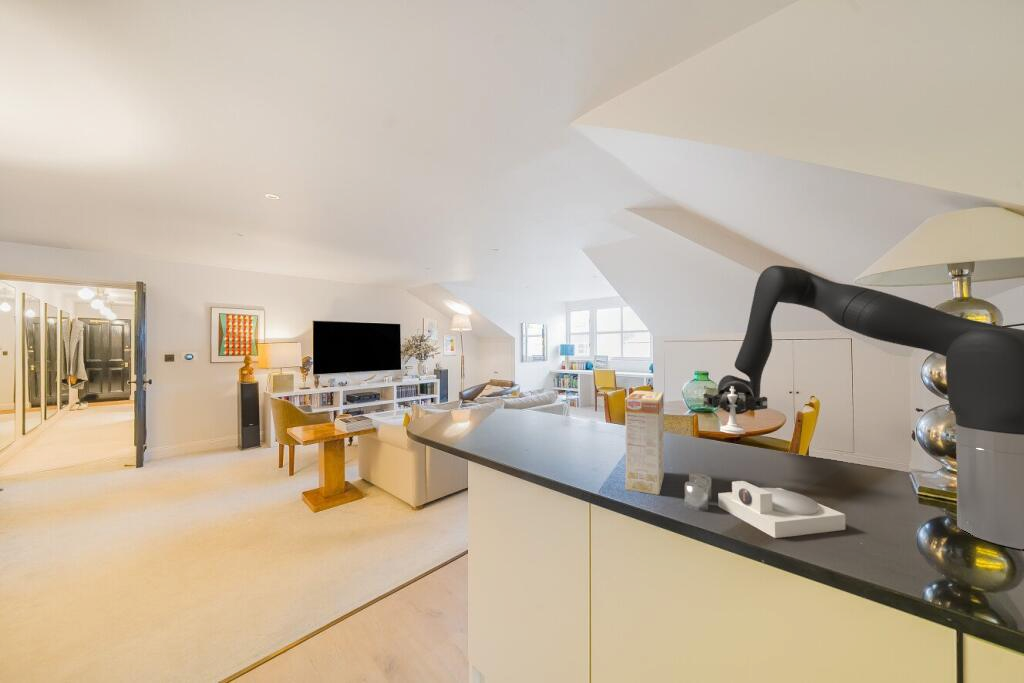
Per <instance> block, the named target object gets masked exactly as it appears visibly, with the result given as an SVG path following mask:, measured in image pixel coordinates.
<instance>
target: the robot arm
mask: <svg viewBox="0 0 1024 683" xmlns="http://www.w3.org/2000/svg"><path fill="white" fill-rule="evenodd" d="M753 294H754V295H753V298H752V303H751V307H750V314H749V318H748V322H747V328H746V330H745V331H746V332H745V335H744V338H743V341H742V343H741V346H740V348H739V351H738V354H737V356H736V360H735V361H734V367H735V369H736V370H737V371H739V372H741V373H742V374H744V375H745V376H747V377H748V378H749V380H746V379H744V378H742V377H741V378H740V377H738V376H735V375H730V374H727V375H724V376H723V377H722V378H721V379H720V380H719V382H718V386H717V393H716V394H710V393H708V392H707V393H706V392H705V393H703V405H706V406H709V407H711V408H713V409H717V408H719V409H722V411H724V412H727V413H729V414H730V407H728V405H729V404H730V402H729V399H728V396H727V395H728V394H731V391H730V389H731V386H734V389H735V392H734V394H736V395H738V397H737V400H736V403H735V405H737V407H735V412H736V415H742V414H745V413H747V412H749V411H760V410H767V409H768V397H767V396H761V383H762V375H763V372H764V369H765V367H766V365H767V362H768V360H769V357H770V354H771V352H772V348H773V334H772V317H773V314H774V311H775V309H776V307H777V305H778V303H782V304H783V303H785V304H792V305H798V306H802V307H807V308H809V309H812V310H816V311H819V312H821V313H822V314H824V315H825V316H826V317H827V318H828V319H829V320H831V321H832V322H834V323H835V324H837V325H839V326H840V327H843V328H844V329H847V330H849V331H852V332H855V333H857V334H859V335H862V336H865V337H867V338H871V339H873V340H878V341H882V342H887V343H890V344H894V345H900V346H905V347H908V348H909V347H910V348H915V349H920V350H923V351H929V352H932V353H934V354H938V355H940V356H944V357H945V374H946V375H945V376H946V387H947V388H946V389H947V399H948V404H949V407H950V408H951V410H952V412H953V414H954V415H955V416H954V417H955V443H956V444H955V445H956V446H955V447H956V450H955V451H956V454H955V455H956V526H957V528H958V527H959V528H960V530H961V529H962V530H964V531H966V532H968V533H970V534H971V535H970V534H969V535H970V536H972V535H973V536H972V537H976V538H977V539H978V538H979V539H981V540H983V541H987V542H989V543H993V544H996V545H1000V546H1003V547H1004V546H1005V547H1007V548H1008V547H1009V548H1014V549H1019V550H1023V549H1024V329H1021V328H1013V327H1009V326H1008V327H1007V326H1004V325H998V324H992V323H988V322H983V321H979V320H973V319H969V318H965V317H961V316H959V315H958V316H957V315H954V314H951V313H948V312H946V311H942V310H940V309H936V308H933V307H931V306H929V305H926V304H923V303H922V304H921V303H918V302H916V301H913V300H909V299H907V298H904V297H900V296H897V295H894V294H890V293H887V292H885V291H884V292H883V291H880V290H876V289H873V288H868V287H863V286H859V285H853V284H846V283H841V282H835V281H832V280H829V279H826V278H824V277H822V276H819V275H817V274H814V273H812V272H810V271H808V270H806V269H802V268H800V267H794V266H785V265H776V264H775V265H770V266H768V267H766V268H765V269H764V270H763V271H762V272H761V273H760V275H759V277H758V279H757V281H756V285H755V289H754V293H753ZM959 528H958V529H959ZM962 530H961V531H962ZM964 531H963V532H964ZM966 532H965V533H966ZM968 533H967V534H968Z"/></svg>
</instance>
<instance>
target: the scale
mask: <svg viewBox="0 0 1024 683" xmlns="http://www.w3.org/2000/svg"><path fill="white" fill-rule="evenodd" d="M731 490H732V491H730V492H718V494H717V495H718V496H717V497H718V506H717V507H718V508H720V509H722V510H724V511H726V512H728V513H729V514H731V515H732V516H735V517H736V518H738V519H740V520H742V522H745V523H747V524H749V525H751V526H752V527H755V528H756V529H758V530H760V531H761V532H763V533H765V534H767V535H769V536H771V537H772V538H773V539H777V538H779V539H781V538H786V537H787V538H788V537H796V536H804V535H811V534H812V535H813V534H821V533H828V532H837V531H844V530H846V514H845V513H843V512H841V511H838V510H836V509H832V508H830V507H828V506H825V505H823V504H822V503H821V504H820V503H818V502H817V501H815V500H814V499H812V498H810V497H808V496H807V495H806V496H805V495H803V494H801V493H798V492H794V491H790V490H786V489H784V488H781V487H776V488H775V487H774V488H773V487H758V486H756V485H754V484H751V483H749V482H747V481H745V480H737V481H731Z"/></svg>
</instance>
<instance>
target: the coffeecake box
mask: <svg viewBox="0 0 1024 683" xmlns="http://www.w3.org/2000/svg"><path fill="white" fill-rule="evenodd" d="M664 397H665V396H664V392H660V391H649V390H647V391H646V390H634V391H633V392H632V393H630V394H629V395H628V396H627V397H625V398H624V403H625V404H624V405H625V406H624V407H625V410H624V412H625V415H624V416H625V418H624V419H625V490H626V491H632V492H638V493H645V494H649V495H657V496H659V495H660V493H661V490H662V484H663V481H664V476H665V456H664V455H665V443H664V442H665V440H664V438H665V435H664V434H665V433H664V432H665V424H664V422H665V421H664V419H665V418H664V417H665V416H664V410H665V408H664Z"/></svg>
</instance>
